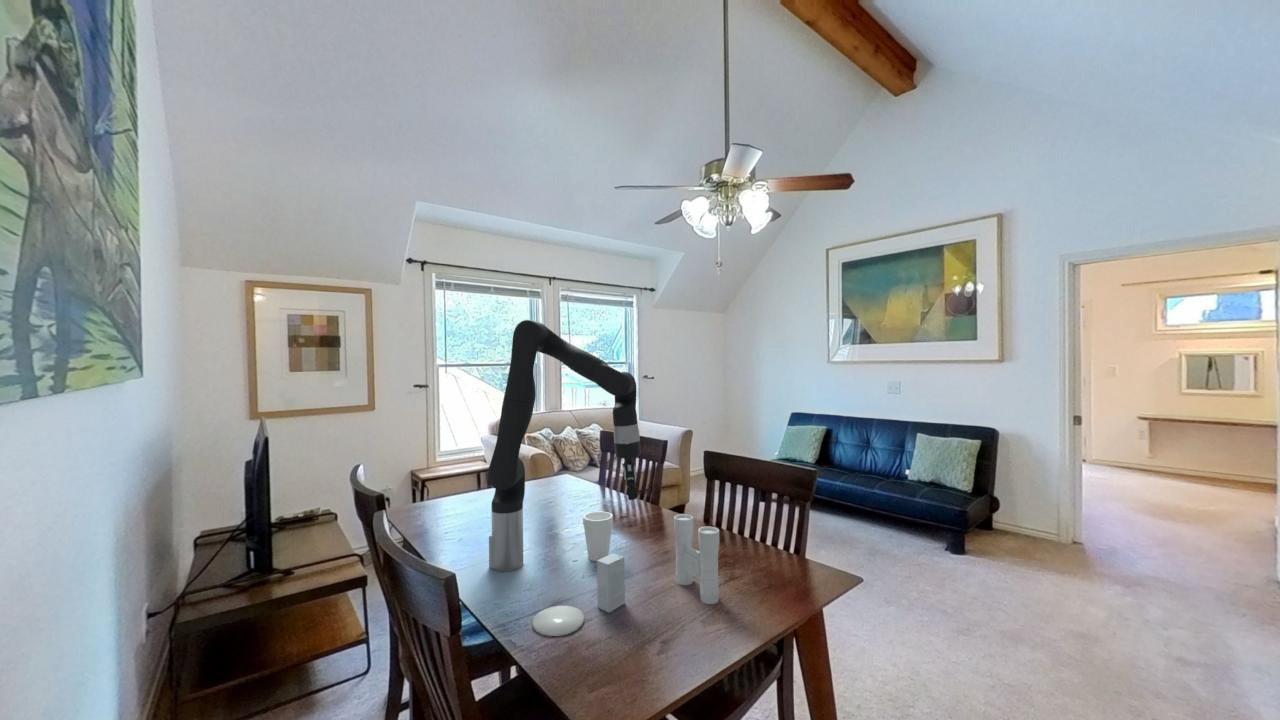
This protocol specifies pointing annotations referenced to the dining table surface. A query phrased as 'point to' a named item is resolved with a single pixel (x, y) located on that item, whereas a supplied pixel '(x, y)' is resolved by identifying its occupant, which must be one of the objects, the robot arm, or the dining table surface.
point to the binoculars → (697, 557)
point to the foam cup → (598, 533)
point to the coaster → (558, 620)
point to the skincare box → (610, 582)
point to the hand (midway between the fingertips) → (632, 495)
